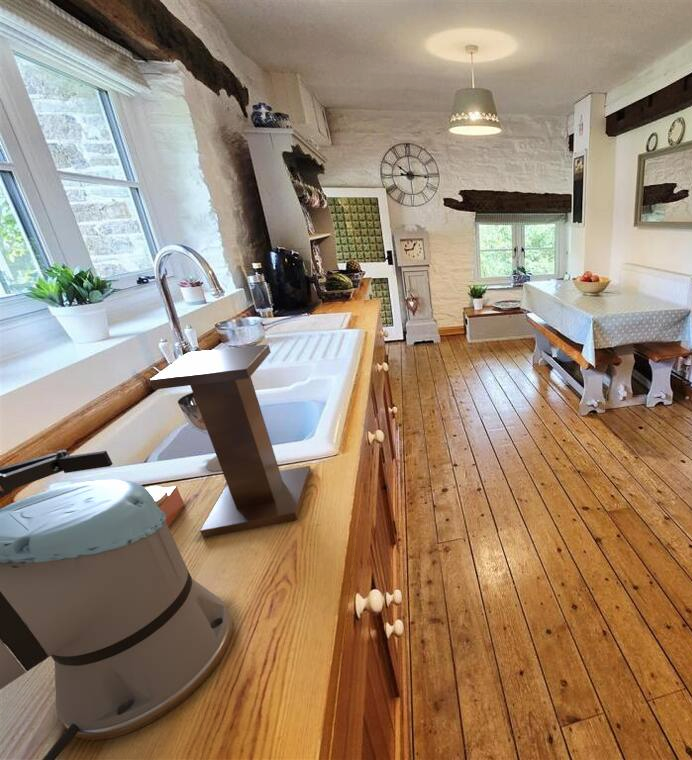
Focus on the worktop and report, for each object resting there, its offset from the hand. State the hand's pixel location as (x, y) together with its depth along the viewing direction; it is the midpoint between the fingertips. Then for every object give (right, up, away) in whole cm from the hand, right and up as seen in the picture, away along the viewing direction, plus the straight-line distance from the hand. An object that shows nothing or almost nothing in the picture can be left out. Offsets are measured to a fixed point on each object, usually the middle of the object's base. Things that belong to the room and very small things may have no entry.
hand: (81, 482), depth 64 cm
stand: (+23, -6, +9) cm, 25 cm away
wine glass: (+8, -1, +22) cm, 23 cm away
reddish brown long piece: (+1, -9, +4) cm, 10 cm away
